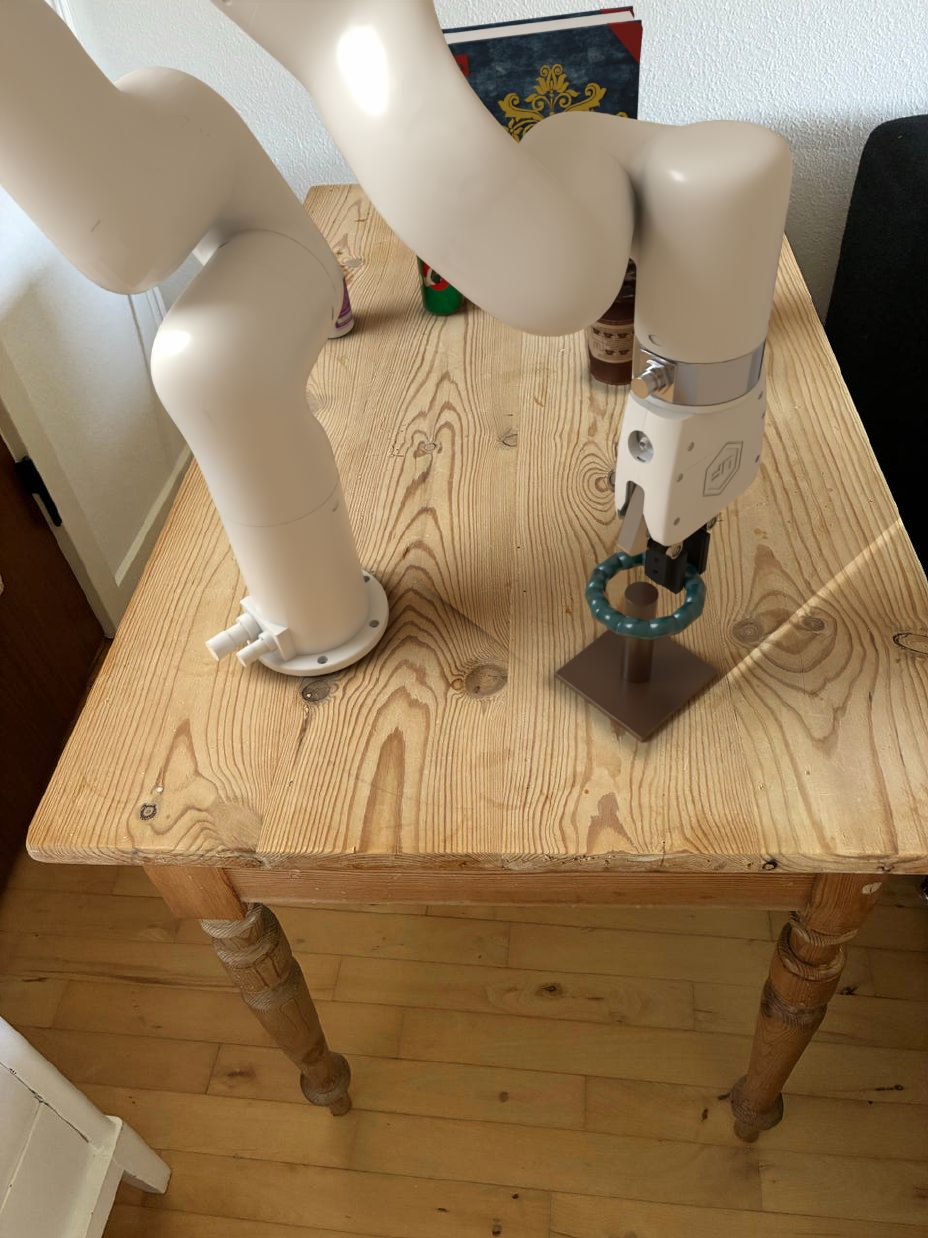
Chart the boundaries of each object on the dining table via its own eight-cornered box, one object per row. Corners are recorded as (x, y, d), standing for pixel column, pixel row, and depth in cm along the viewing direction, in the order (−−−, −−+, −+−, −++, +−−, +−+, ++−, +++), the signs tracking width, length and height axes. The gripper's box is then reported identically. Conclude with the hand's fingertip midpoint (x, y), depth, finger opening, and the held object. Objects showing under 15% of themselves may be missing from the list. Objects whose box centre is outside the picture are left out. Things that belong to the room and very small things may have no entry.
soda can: (472, 307, 115) (463, 210, 106) (437, 322, 113) (426, 225, 104) (449, 291, 118) (438, 196, 109) (415, 306, 116) (402, 210, 107)
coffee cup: (655, 399, 99) (664, 285, 89) (577, 396, 101) (577, 283, 91) (661, 353, 105) (669, 241, 95) (586, 350, 106) (587, 240, 97)
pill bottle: (348, 312, 117) (333, 237, 109) (359, 333, 113) (344, 257, 106) (306, 322, 116) (289, 248, 109) (315, 344, 112) (298, 268, 105)
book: (443, 259, 124) (420, 49, 105) (440, 234, 128) (418, 29, 110) (634, 236, 123) (644, 21, 105) (624, 212, 128) (632, 2, 109)
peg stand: (640, 747, 71) (649, 662, 63) (554, 682, 75) (552, 595, 68) (716, 679, 74) (732, 590, 67) (629, 621, 79) (635, 532, 71)
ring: (651, 662, 64) (652, 649, 63) (562, 601, 68) (561, 588, 67) (729, 595, 67) (731, 582, 66) (638, 541, 72) (639, 528, 71)
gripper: (659, 445, 50) (643, 661, 64) (830, 321, 56) (782, 542, 70) (558, 392, 54) (563, 606, 68) (728, 282, 61) (701, 498, 74)
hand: (674, 572), depth 69 cm, fingers closed on ring, 1 cm apart
